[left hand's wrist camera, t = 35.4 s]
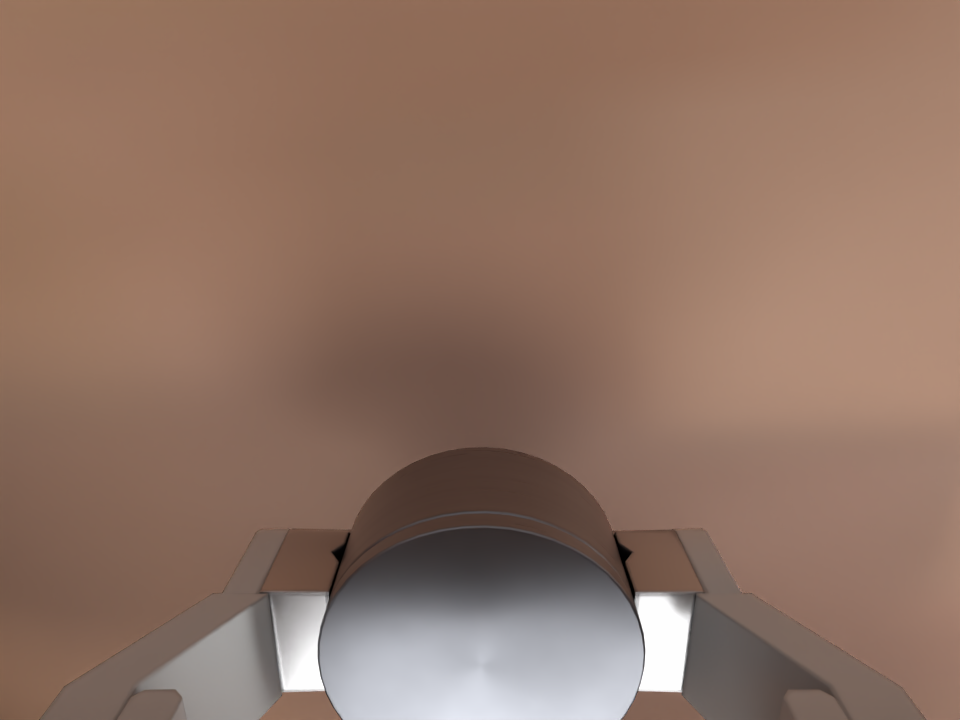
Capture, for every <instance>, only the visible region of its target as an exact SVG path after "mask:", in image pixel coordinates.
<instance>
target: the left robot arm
mask: <svg viewBox="0 0 960 720" xmlns="http://www.w3.org/2000/svg"><path fill="white" fill-rule="evenodd" d="M612 532H613V535H614V539H615V542H616V545H617V548H618V551H619V554H620V558H621V561H622V564H623V567H624V570H625V573H626V577H627V580H628V583H629V586H630V589H631V592H632V596H633V599H634V602H635V605H636V608H637V611H638V615H639V618H640V621H641V625H642V629H643V632H644V639H645V649H646V653H645V668H644V672H643V676H642V680H641V685H640V687H639V690H638V691H658V692H682V696H683V697H684V698H685V699H686V700H687V701H688V702H689V703H690V704H691V705H692V706H693V707H694V708H695V709H696V710H697V711H698V712H699V713H700V714H701V715H702V716H703V717H704V719H705V720H926V719H925V717H924V716H923V715H922V713H921V712H920V711H919V709H918V708H917V707H916V705H915V704H914V703H913V701H912V700H911V699H910V697H909V696H908V695H907V693H906V692H905V691H904V689H903V688H902V687H900V686H899V685H897V684H896V683H894V682H892V681H891V680H889V679H888V678H886V677H884V676H883V675H881V674H880V673H878V672H876V671H875V670H873V669H872V668H870V667H868V666H867V665H865V664H864V663H862V662H860V661H859V660H857V659H856V658H854V657H852V656H851V655H849V654H848V653H846V652H844V651H843V650H841V649H840V648H838V647H836V646H835V645H833V644H832V643H830V642H828V641H827V640H825V639H824V638H822V637H820V636H819V635H817V634H816V633H814V632H812V631H811V630H809V629H808V628H806V627H804V626H803V625H801V624H800V623H798V622H796V621H795V620H793V619H792V618H790V617H788V616H787V615H785V614H784V613H782V612H780V611H779V610H777V609H776V608H774V607H772V606H771V605H769V604H767V603H766V602H764V601H763V600H761V599H759V598H758V597H756V596H755V595H753V594H751V593H742V592H741V590H740V589H739V587H738V585H737V583H736V582H735V580H734V578H733V576H732V575H731V573H730V571H729V569H728V568H727V566H726V564H725V562H724V561H723V559H722V557H721V555H720V554H719V552H718V550H717V548H716V547H715V545H714V543H713V541H712V540H711V538H710V536H709V534H708V533H707V531H706V530H704V529H702V528H689V529H672V530H621V531H612ZM350 533H351V530H334V529H289V528H287V529H260V530H259V531H257V532H256V533H255V535H254V537H253V538H252V540H251V542H250V544H249V546H248V547H247V549H246V551H245V553H244V555H243V556H242V558H241V560H240V562H239V564H238V565H237V567H236V569H235V571H234V573H233V575H232V576H231V578H230V580H229V582H228V584H227V585H226V587H225V589H224V591H223V593H213V594H211V595H210V596H208V597H206V598H205V599H203V600H202V601H200V602H198V603H197V604H195V605H194V606H192V607H190V608H189V609H187V610H186V611H184V612H182V613H181V614H179V615H178V616H176V617H174V618H173V619H171V620H170V621H168V622H166V623H165V624H163V625H162V626H160V627H158V628H157V629H155V630H154V631H152V632H150V633H149V634H147V635H146V636H144V637H142V638H141V639H139V640H138V641H136V642H135V643H133V644H131V645H130V646H128V647H127V648H125V649H123V650H122V651H120V652H119V653H117V654H115V655H114V656H112V657H111V658H109V659H107V660H106V661H104V662H103V663H101V664H99V665H98V666H96V667H95V668H93V669H91V670H90V671H88V672H87V673H85V674H83V675H82V676H80V677H79V678H77V679H75V680H74V681H72V682H71V683H69V684H67V685H66V686H64V687H63V689H62V690H61V691H60V693H59V694H58V695H57V697H56V698H55V699H54V701H53V702H52V703H51V705H50V706H49V707H48V709H47V710H46V712H45V713H44V714H43V716H42V717H41V718H40V720H259V719H260V718H261V717H262V716H263V715H264V714H265V713H266V712H267V711H268V710H269V709H270V708H271V706H272V705H273V704H274V703H275V702H276V701H277V700H278V699H279V698H280V697H281V696H282V692H305V691H325V689H324V686H323V683H322V680H321V677H320V672H319V665H318V659H317V658H318V637H319V632H320V626H321V623H322V620H323V617H324V614H325V611H326V607H327V604H328V601H329V598H330V595H331V592H332V589H333V586H334V583H335V580H336V577H337V573H338V570H339V567H340V564H341V561H342V558H343V555H344V552H345V549H346V546H347V542H348V539H349V536H350Z"/></svg>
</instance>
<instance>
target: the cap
mask: <svg viewBox="0 0 960 720" xmlns="http://www.w3.org/2000/svg"><path fill="white" fill-rule="evenodd" d="M645 653H646V649H645V639H644V632H643V629H642V625H641V621H640V618H639V615H638V611H637V608H636V605H635V602H634V599H633V596H632V592H631V589H630V586H629V583H628V580H627V577H626V573H625V570H624V567H623V564H622V561H621V558H620V554H619V551H618V548H617V545H616V542H615V539H614V535H613V532H612V529H611V526H610V524H609V522H608V520H607V517H606V515H605V513H604V512H603V510H602V509H601V507H600V505H599V504H598V502H597V501H596V499H595V498H594V497H593V496H592V495H591V494H590V493H589V492H588V490H587V489H586V488H585V487H584V486H583V485H581V484H580V483H579V482H578V481H577V480H576V479H574V478H573V477H572V476H571V475H569V474H567V473H566V472H564V471H563V470H561V469H560V468H558V467H557V466H555V465H553V464H550V463H549V462H546V461H544V460H542V459H540V458H537V457H534V456H531V455H528V454H525V453H522V452H517V451H512V450H507V449H500V448H488V447H478V448H463V449H456V450H449V451H445V452H442V453H438V454H434V455H431V456H428V457H426V458H424V459H421V460H419V461H416V462H414V463H412V464H410V465H409V466H407V467H405V468H403V469H402V470H400V471H398V472H397V473H395V474H394V475H393V476H391V477H390V478H389V479H387V480H386V481H385V482H384V483H383V484H382V485H381V486H380V487H378V488H377V489H376V490H375V491H374V492H373V493H372V495H371V496H370V497H369V499H368V500H367V501H366V503H365V504H364V505H363V507H362V509H361V510H360V512H359V514H358V516H357V518H356V520H355V522H354V525H353V528H352V530H351V533H350V536H349V539H348V542H347V546H346V549H345V552H344V555H343V558H342V561H341V564H340V567H339V570H338V573H337V577H336V580H335V583H334V586H333V589H332V592H331V595H330V598H329V601H328V604H327V607H326V611H325V614H324V617H323V620H322V623H321V626H320V632H319V637H318V658H317V659H318V665H319V672H320V677H321V680H322V683H323V686H324V689H325V692H326V694H327V696H328V698H329V700H330V702H331V704H332V706H333V708H334V709H335V711H336V712H337V713H338V715H339V716H340V718H341V719H342V720H622V718H623V717H624V716H625V715H626V713H627V711H628V710H629V708H630V706H631V705H632V703H633V701H634V699H635V697H636V695H637V692H638V690H639V687H640V685H641V680H642V676H643V672H644V668H645Z"/></svg>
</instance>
